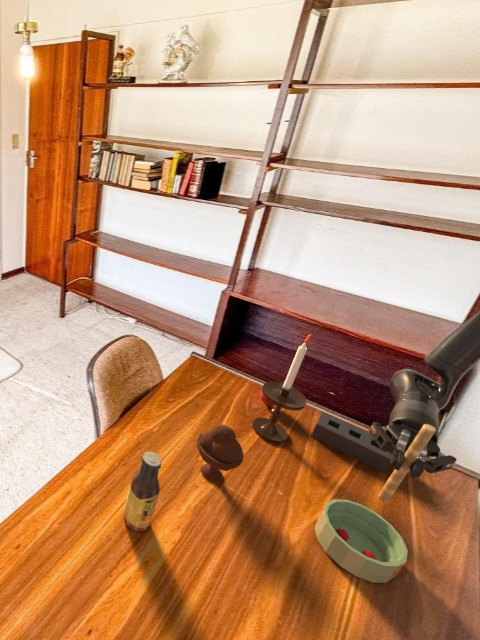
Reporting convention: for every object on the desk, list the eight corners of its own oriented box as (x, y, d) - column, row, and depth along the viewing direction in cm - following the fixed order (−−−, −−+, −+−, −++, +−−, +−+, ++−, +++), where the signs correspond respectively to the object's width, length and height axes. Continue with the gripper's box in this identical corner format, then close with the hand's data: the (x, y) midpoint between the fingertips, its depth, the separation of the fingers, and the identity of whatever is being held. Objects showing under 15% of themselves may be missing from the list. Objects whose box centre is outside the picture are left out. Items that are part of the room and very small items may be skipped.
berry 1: (347, 538, 90) (351, 532, 89) (345, 546, 88) (349, 539, 87) (334, 530, 91) (338, 524, 90) (332, 538, 90) (336, 531, 89)
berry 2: (373, 560, 86) (378, 553, 84) (372, 568, 84) (377, 562, 83) (360, 552, 87) (364, 545, 86) (358, 560, 86) (362, 553, 84)
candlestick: (280, 420, 123) (320, 324, 108) (296, 447, 113) (343, 347, 98) (243, 415, 124) (278, 320, 109) (256, 442, 115) (296, 342, 100)
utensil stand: (388, 457, 111) (396, 445, 109) (384, 473, 107) (392, 460, 105) (316, 423, 123) (322, 411, 120) (310, 436, 118) (316, 423, 116)
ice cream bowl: (180, 462, 107) (193, 421, 101) (212, 452, 111) (226, 411, 105) (210, 496, 98) (225, 454, 92) (243, 483, 102) (260, 442, 96)
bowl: (397, 549, 88) (410, 531, 86) (389, 601, 79) (404, 582, 76) (321, 505, 98) (331, 487, 95) (307, 546, 88) (317, 528, 85)
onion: (272, 399, 132) (279, 380, 128) (280, 412, 126) (288, 392, 123) (254, 397, 132) (261, 379, 129) (261, 410, 127) (269, 390, 123)
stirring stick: (388, 498, 81) (436, 427, 73) (387, 503, 80) (436, 432, 72) (378, 493, 83) (424, 422, 74) (377, 498, 81) (423, 427, 73)
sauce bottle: (141, 539, 88) (157, 478, 80) (117, 519, 92) (130, 460, 84) (155, 519, 93) (172, 459, 84) (131, 501, 97) (145, 443, 88)
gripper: (381, 394, 89) (369, 435, 77) (466, 429, 80) (467, 481, 69) (367, 418, 92) (353, 461, 81) (448, 455, 83) (445, 508, 72)
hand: (406, 470), depth 75 cm, fingers closed on stirring stick, 1 cm apart
